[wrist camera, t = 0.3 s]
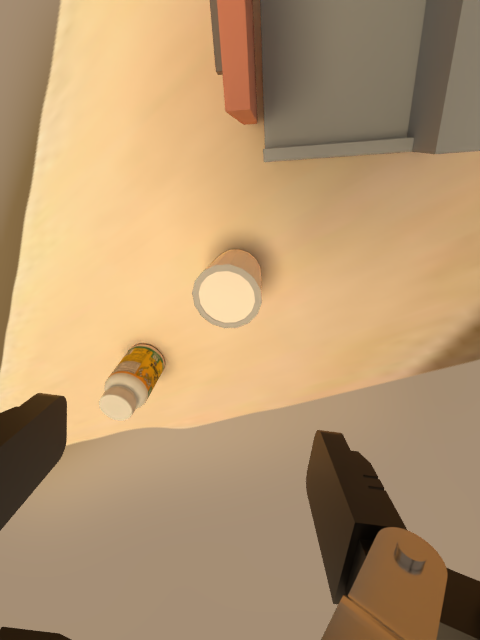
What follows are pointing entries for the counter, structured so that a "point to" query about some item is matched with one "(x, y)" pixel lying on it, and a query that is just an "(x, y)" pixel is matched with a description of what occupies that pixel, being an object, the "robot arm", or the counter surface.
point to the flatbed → (370, 77)
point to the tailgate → (235, 56)
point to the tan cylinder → (229, 290)
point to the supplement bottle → (131, 382)
